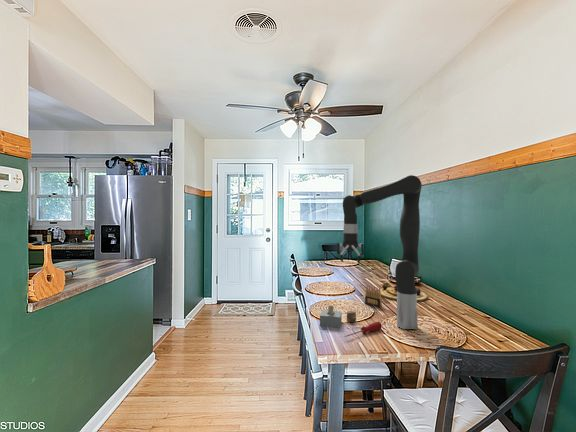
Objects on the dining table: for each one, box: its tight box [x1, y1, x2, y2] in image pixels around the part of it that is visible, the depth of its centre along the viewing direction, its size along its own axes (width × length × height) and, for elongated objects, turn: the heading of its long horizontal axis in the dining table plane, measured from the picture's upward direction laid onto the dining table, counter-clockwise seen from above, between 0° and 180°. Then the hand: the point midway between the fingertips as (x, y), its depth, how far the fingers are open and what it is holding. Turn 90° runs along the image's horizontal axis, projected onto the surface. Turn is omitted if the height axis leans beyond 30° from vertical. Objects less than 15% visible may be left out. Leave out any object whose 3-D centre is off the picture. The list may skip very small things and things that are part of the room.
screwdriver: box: [343, 321, 383, 338], centre depth 138 cm, size 4×25×4 cm, turn 126°
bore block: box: [319, 309, 343, 329], centre depth 153 cm, size 10×10×5 cm
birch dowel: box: [327, 304, 334, 315], centre depth 153 cm, size 3×3×9 cm
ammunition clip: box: [364, 285, 382, 308], centre depth 185 cm, size 11×2×12 cm, turn 43°
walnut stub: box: [346, 310, 357, 323], centre depth 156 cm, size 5×5×4 cm
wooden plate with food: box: [380, 281, 428, 303], centre depth 209 cm, size 32×32×8 cm
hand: (350, 262), depth 161 cm, fingers open, 8 cm apart
